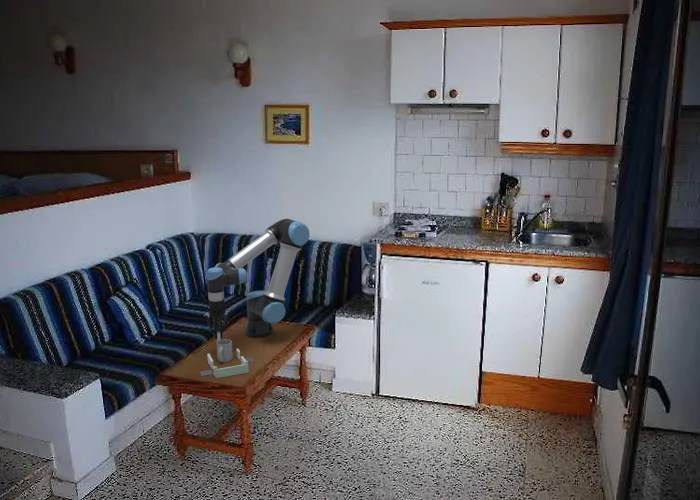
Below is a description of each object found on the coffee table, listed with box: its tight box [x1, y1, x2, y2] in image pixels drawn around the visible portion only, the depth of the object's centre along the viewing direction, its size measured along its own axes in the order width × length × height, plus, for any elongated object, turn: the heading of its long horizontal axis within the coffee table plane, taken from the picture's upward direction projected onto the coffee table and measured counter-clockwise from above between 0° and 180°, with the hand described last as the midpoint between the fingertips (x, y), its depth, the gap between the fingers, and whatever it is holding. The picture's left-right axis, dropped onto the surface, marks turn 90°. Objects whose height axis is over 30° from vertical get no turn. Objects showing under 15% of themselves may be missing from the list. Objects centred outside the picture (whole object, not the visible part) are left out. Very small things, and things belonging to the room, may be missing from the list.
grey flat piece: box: [199, 348, 255, 379], centre depth 276 cm, size 26×20×5 cm
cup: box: [216, 338, 234, 363], centre depth 283 cm, size 7×10×9 cm
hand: (218, 344), depth 292 cm, fingers closed
